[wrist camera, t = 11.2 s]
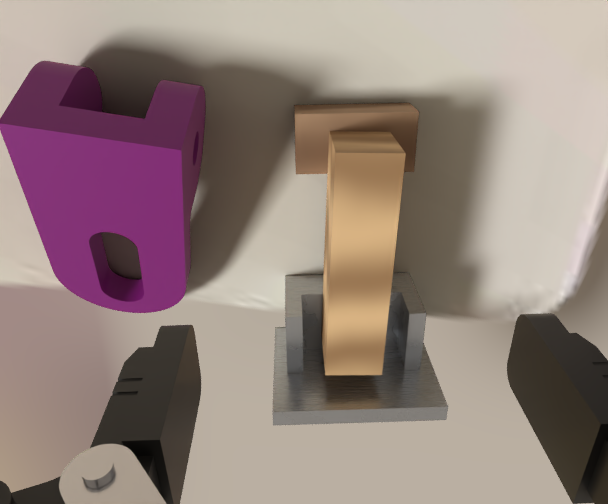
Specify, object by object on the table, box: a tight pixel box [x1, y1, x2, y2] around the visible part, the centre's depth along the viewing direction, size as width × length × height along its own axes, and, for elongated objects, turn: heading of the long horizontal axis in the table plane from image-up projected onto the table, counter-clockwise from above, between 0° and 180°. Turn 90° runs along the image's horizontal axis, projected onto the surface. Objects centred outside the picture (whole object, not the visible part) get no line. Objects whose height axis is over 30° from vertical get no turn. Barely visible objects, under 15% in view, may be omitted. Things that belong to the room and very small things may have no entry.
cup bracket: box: [273, 273, 448, 425], centre depth 40 cm, size 6×12×10 cm, turn 91°
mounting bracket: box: [0, 61, 206, 313], centre depth 37 cm, size 10×8×18 cm
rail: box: [321, 131, 406, 375], centre depth 36 cm, size 16×4×5 cm, turn 179°
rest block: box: [294, 103, 419, 174], centre depth 36 cm, size 4×8×3 cm, turn 91°
